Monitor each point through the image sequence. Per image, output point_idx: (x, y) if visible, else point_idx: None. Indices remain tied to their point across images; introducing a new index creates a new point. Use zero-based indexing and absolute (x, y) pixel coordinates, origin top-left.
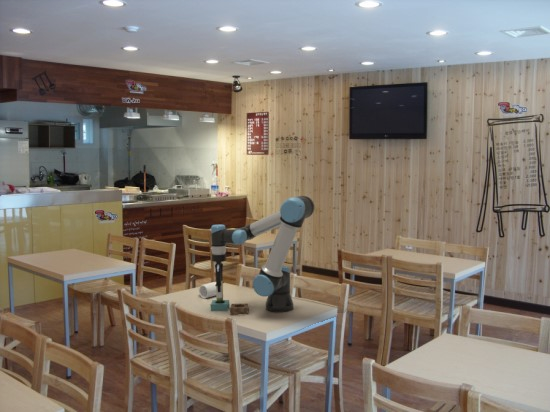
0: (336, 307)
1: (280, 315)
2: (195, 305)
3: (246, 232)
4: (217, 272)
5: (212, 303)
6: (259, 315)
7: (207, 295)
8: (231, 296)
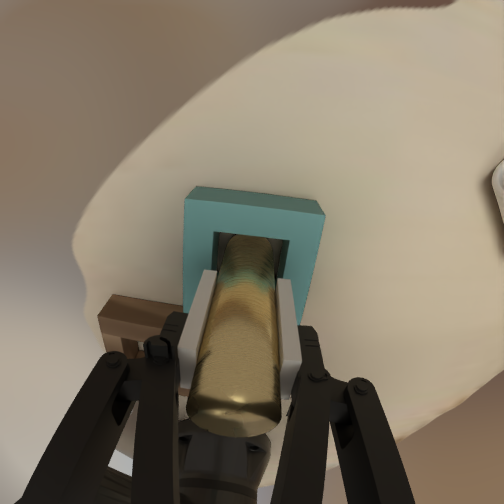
0: None
1: (133, 427)
2: (366, 81)
3: None
4: (35, 501)
5: (214, 213)
6: None
7: (494, 189)
8: (471, 308)
